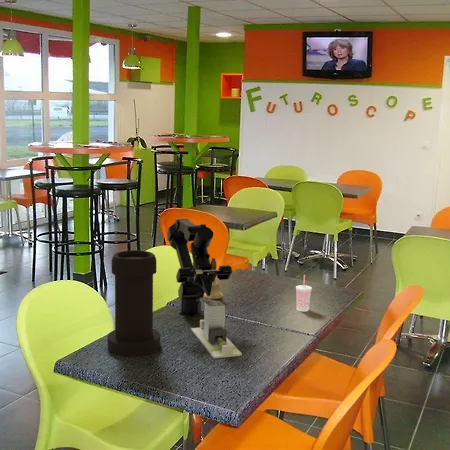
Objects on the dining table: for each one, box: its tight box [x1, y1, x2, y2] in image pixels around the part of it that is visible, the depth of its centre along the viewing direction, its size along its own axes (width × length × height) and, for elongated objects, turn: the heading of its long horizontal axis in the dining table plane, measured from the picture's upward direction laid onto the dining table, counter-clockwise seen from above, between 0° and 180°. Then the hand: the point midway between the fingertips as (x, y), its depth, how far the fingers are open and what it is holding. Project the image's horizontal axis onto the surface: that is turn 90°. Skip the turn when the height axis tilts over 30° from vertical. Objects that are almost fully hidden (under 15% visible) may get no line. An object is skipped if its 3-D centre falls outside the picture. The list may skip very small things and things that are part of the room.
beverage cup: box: [295, 274, 313, 312], centre depth 235 cm, size 6×6×14 cm
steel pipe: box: [203, 323, 227, 347], centre depth 199 cm, size 23×2×2 cm, turn 19°
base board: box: [190, 319, 243, 359], centre depth 199 cm, size 26×9×3 cm, turn 19°
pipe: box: [107, 249, 161, 357], centre depth 191 cm, size 16×16×30 cm
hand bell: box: [203, 257, 224, 300], centre depth 249 cm, size 8×8×16 cm
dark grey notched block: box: [209, 328, 228, 344], centre depth 197 cm, size 2×5×4 cm, turn 109°
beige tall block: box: [203, 300, 226, 341], centre depth 200 cm, size 5×5×12 cm
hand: (209, 295), depth 205 cm, fingers closed
